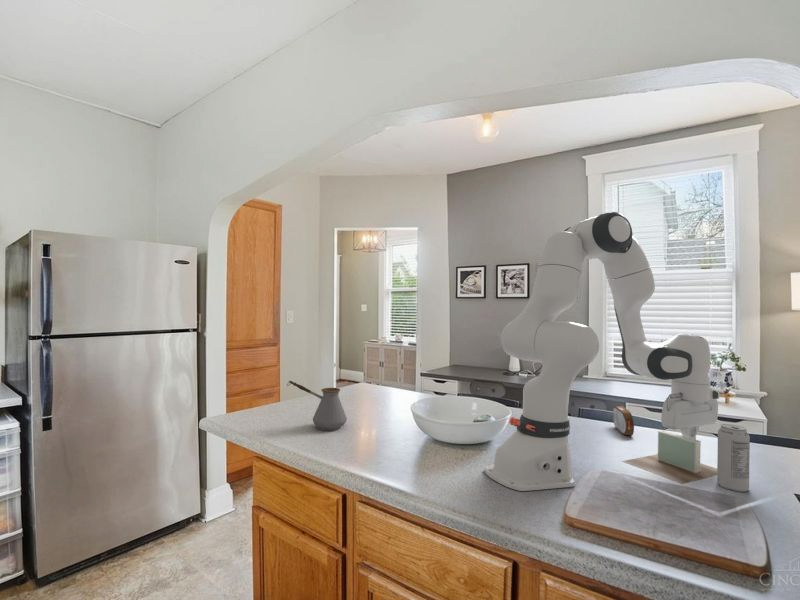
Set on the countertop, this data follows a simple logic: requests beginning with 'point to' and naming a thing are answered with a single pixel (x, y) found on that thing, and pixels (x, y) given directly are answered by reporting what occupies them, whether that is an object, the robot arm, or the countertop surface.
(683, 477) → the board
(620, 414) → the tin
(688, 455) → the tile
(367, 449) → the countertop surface
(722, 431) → the energy drink can
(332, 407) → the coffee pot
